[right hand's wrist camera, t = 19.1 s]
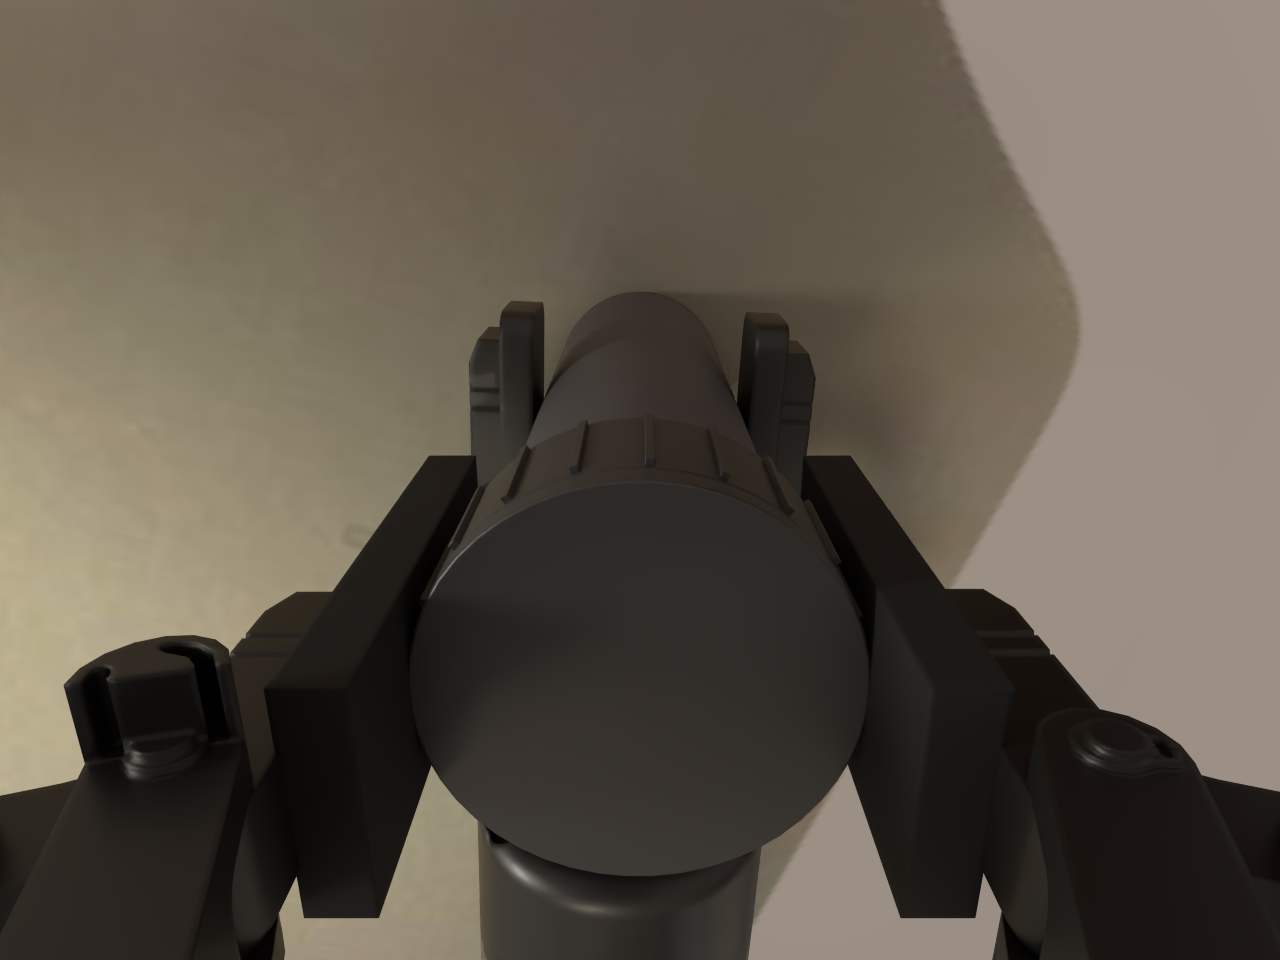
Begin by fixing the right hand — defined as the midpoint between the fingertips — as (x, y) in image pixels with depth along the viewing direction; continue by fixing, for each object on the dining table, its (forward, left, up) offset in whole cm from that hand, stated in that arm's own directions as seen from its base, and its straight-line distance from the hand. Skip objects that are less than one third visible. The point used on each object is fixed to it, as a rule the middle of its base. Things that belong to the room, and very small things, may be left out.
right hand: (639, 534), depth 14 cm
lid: (0, 0, +4) cm, 4 cm away
